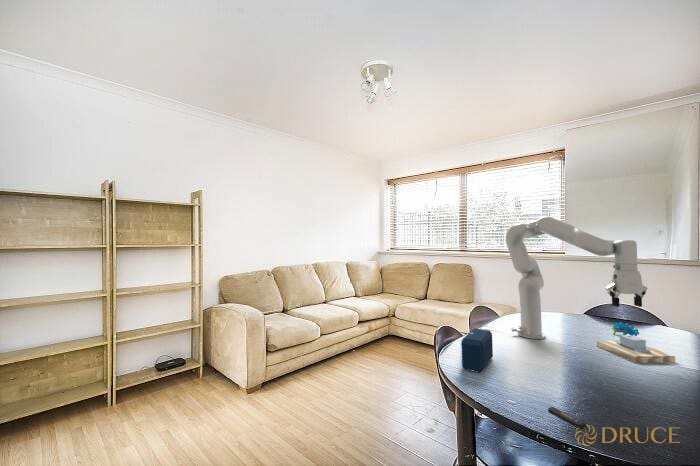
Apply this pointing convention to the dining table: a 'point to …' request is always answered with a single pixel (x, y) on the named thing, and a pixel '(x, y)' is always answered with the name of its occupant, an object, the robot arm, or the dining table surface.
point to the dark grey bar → (567, 417)
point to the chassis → (636, 353)
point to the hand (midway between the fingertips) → (626, 306)
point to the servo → (633, 343)
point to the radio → (477, 350)
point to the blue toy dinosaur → (624, 329)
